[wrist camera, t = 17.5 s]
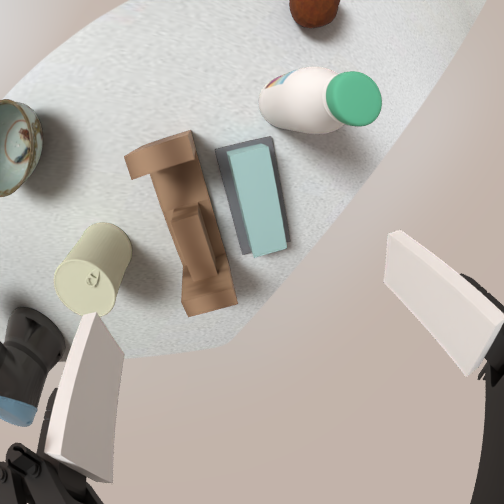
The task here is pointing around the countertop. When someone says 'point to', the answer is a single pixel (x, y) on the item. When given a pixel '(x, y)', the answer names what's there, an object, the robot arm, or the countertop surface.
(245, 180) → the slab
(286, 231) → the mat
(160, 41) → the countertop surface
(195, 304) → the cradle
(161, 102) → the countertop surface
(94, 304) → the can
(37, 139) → the bowl
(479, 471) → the robot arm
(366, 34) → the countertop surface
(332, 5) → the potato
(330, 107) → the milk bottle
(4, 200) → the countertop surface
